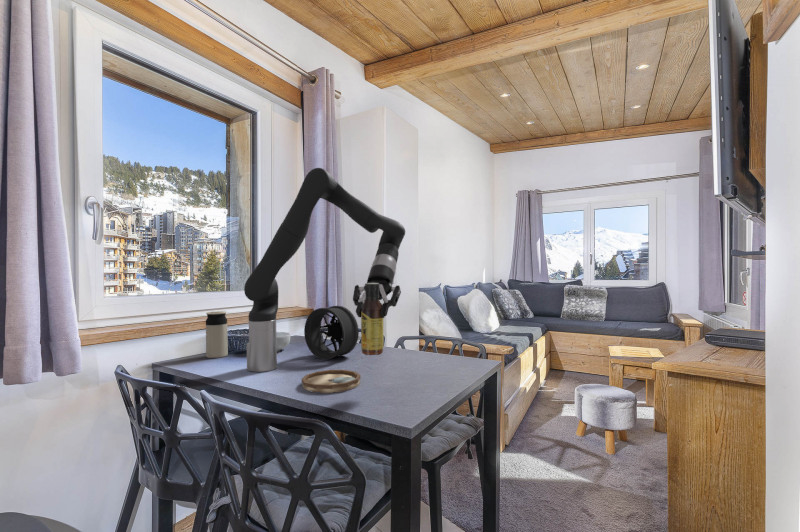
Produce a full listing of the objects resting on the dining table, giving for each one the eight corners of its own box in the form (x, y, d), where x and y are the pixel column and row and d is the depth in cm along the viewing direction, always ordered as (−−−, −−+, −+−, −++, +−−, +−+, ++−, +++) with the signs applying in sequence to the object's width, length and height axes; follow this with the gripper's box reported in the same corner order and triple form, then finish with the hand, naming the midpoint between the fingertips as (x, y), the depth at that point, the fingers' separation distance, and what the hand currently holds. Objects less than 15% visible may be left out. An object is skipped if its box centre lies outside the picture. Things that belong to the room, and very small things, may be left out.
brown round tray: (294, 392, 114) (294, 385, 114) (312, 376, 131) (312, 369, 131) (353, 393, 112) (353, 385, 112) (364, 376, 129) (363, 369, 129)
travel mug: (225, 357, 160) (224, 312, 161) (203, 359, 159) (203, 313, 159) (229, 353, 168) (229, 310, 168) (209, 354, 167) (208, 311, 167)
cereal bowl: (284, 354, 165) (284, 337, 165) (243, 355, 165) (243, 338, 165) (295, 346, 182) (294, 330, 182) (258, 347, 182) (258, 331, 182)
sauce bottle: (361, 351, 116) (360, 282, 116) (383, 350, 116) (382, 282, 116) (361, 356, 109) (360, 283, 109) (384, 356, 110) (383, 283, 110)
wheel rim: (359, 357, 157) (358, 306, 157) (344, 362, 149) (343, 308, 149) (320, 352, 167) (319, 304, 167) (304, 357, 159) (303, 306, 159)
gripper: (357, 263, 122) (342, 306, 110) (403, 263, 118) (392, 307, 107) (363, 280, 127) (349, 323, 115) (407, 280, 123) (398, 325, 112)
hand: (370, 315), depth 111 cm, fingers closed on sauce bottle, 6 cm apart
